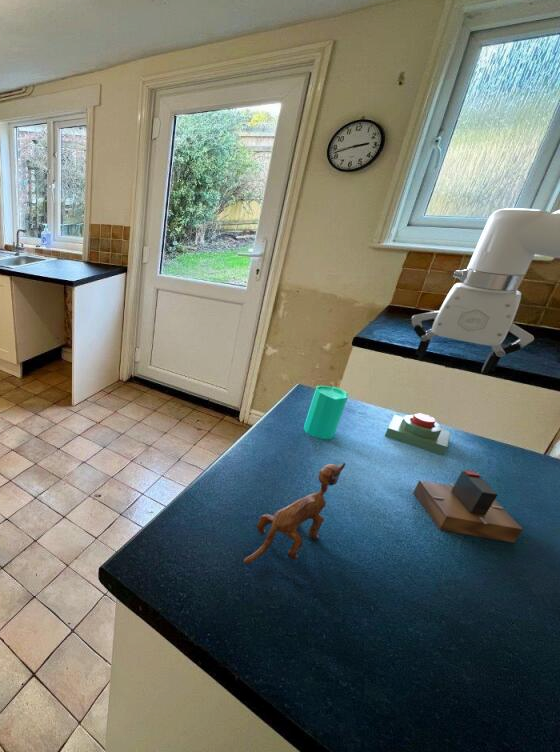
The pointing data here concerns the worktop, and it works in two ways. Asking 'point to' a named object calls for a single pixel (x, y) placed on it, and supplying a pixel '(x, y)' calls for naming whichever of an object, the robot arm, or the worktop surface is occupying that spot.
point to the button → (423, 420)
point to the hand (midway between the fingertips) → (451, 364)
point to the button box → (418, 434)
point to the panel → (465, 514)
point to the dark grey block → (474, 492)
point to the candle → (325, 411)
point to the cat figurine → (298, 515)
